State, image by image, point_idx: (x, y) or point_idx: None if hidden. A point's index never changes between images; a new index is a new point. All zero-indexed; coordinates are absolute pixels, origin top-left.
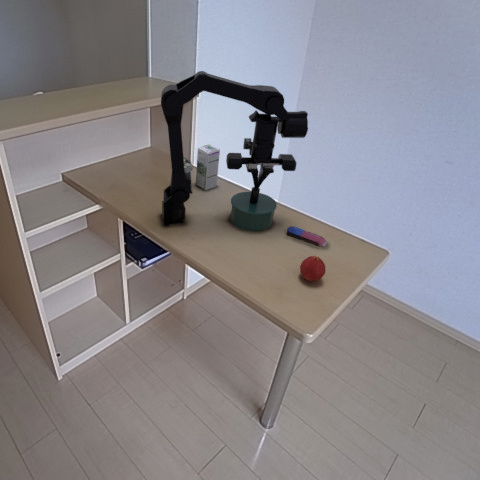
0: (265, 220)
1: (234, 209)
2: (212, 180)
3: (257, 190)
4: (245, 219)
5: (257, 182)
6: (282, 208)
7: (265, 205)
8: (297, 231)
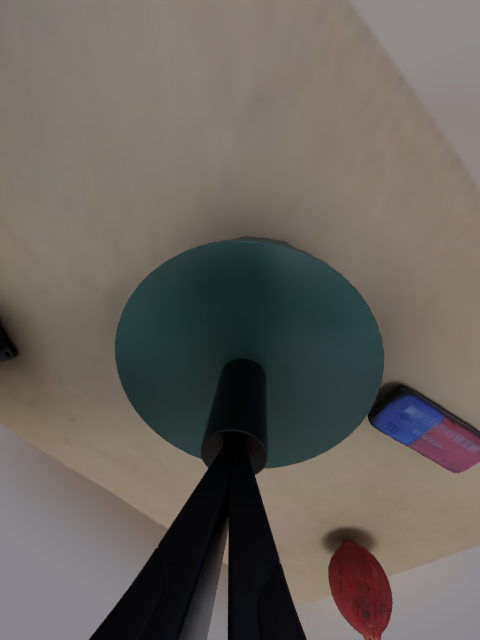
0: None
1: None
2: None
3: None
4: None
5: (217, 582)
6: (450, 186)
7: (304, 410)
8: (409, 428)
